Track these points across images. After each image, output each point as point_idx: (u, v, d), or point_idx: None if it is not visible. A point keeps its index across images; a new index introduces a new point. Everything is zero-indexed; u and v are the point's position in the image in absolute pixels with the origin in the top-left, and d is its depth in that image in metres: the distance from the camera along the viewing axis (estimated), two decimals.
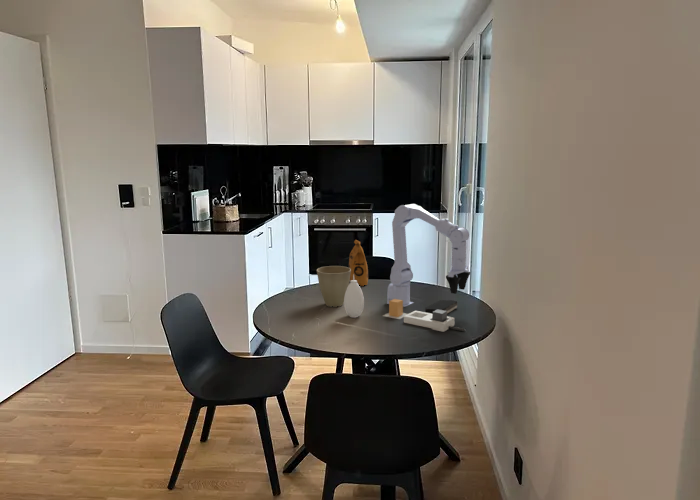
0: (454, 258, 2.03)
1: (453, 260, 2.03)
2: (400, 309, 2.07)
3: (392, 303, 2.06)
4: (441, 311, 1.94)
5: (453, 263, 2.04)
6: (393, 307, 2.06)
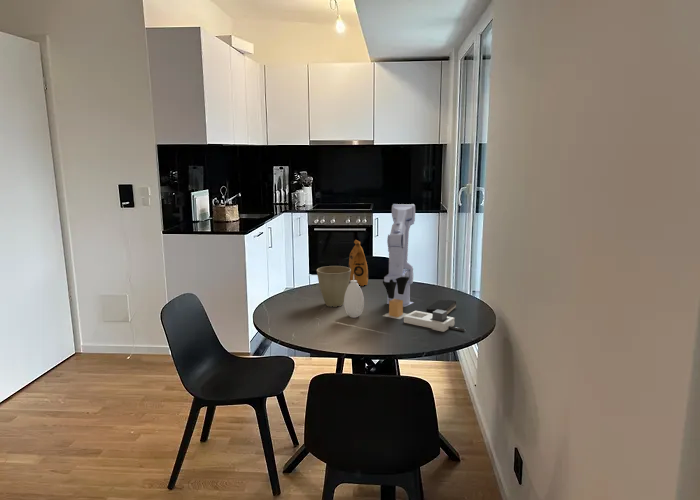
0: None
1: (390, 265, 2.03)
2: (400, 309, 2.07)
3: (392, 303, 2.06)
4: (441, 311, 1.94)
5: (390, 268, 2.04)
6: (393, 307, 2.06)
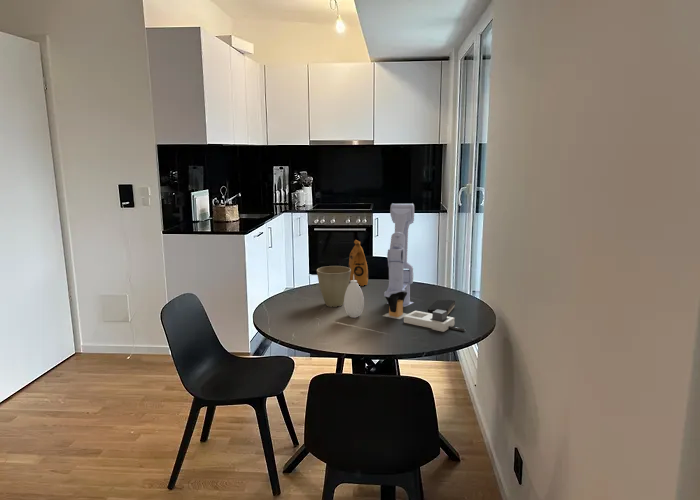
0: None
1: (390, 280, 2.04)
2: (400, 309, 2.07)
3: None
4: (441, 311, 1.94)
5: (390, 283, 2.05)
6: None
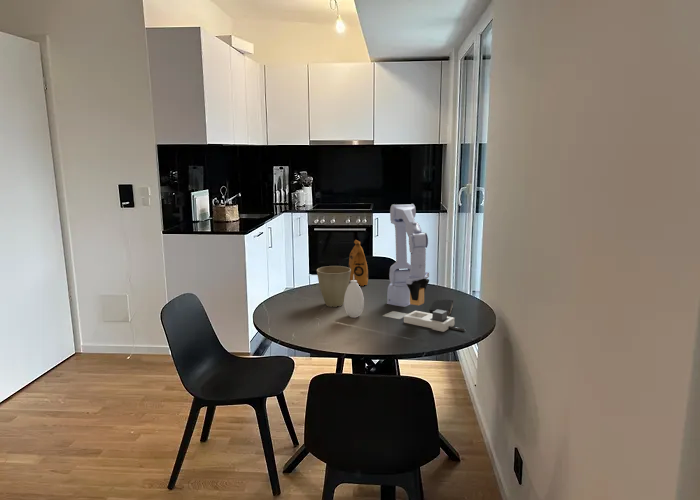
0: None
1: (412, 266, 1.95)
2: (421, 297, 1.98)
3: None
4: (441, 311, 1.94)
5: (412, 269, 1.95)
6: None
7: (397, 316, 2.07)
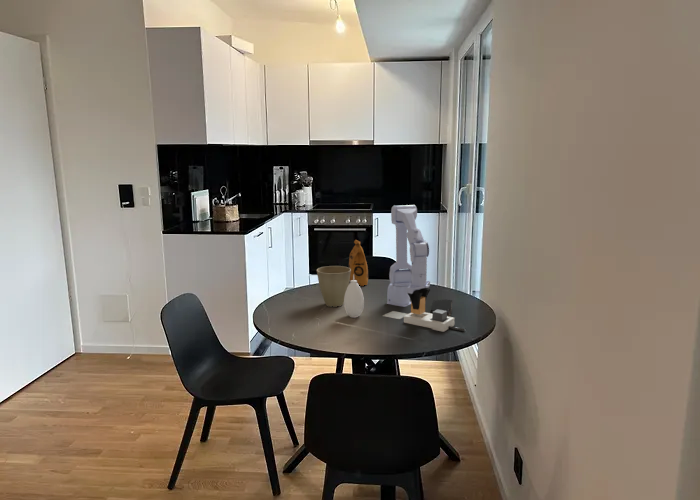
0: (411, 272, 1.97)
1: (413, 275, 1.96)
2: (422, 306, 1.98)
3: None
4: (441, 311, 1.94)
5: (413, 279, 1.96)
6: None
7: (397, 316, 2.07)
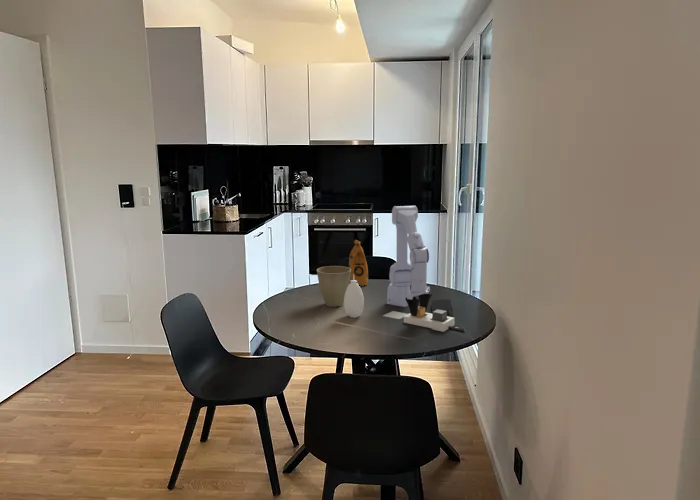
0: (411, 278, 1.97)
1: (413, 281, 1.96)
2: (422, 316, 1.99)
3: None
4: (441, 311, 1.94)
5: (413, 284, 1.96)
6: None
7: (397, 316, 2.07)
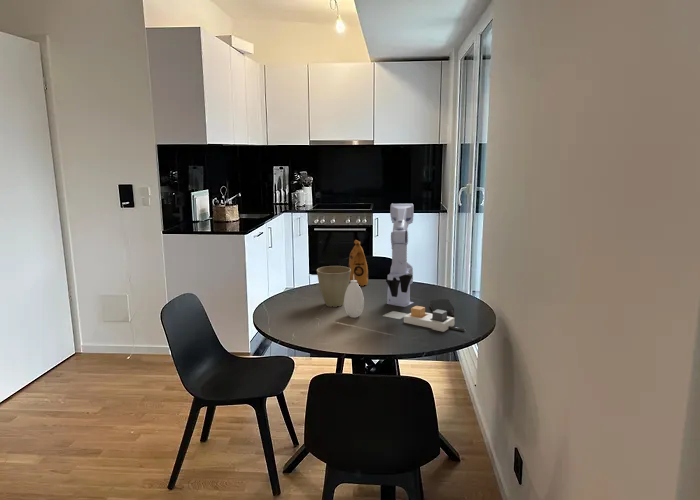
0: None
1: (393, 263, 1.99)
2: (422, 316, 1.99)
3: (414, 310, 1.98)
4: (441, 311, 1.94)
5: (393, 266, 1.99)
6: (415, 314, 1.98)
7: (397, 316, 2.07)
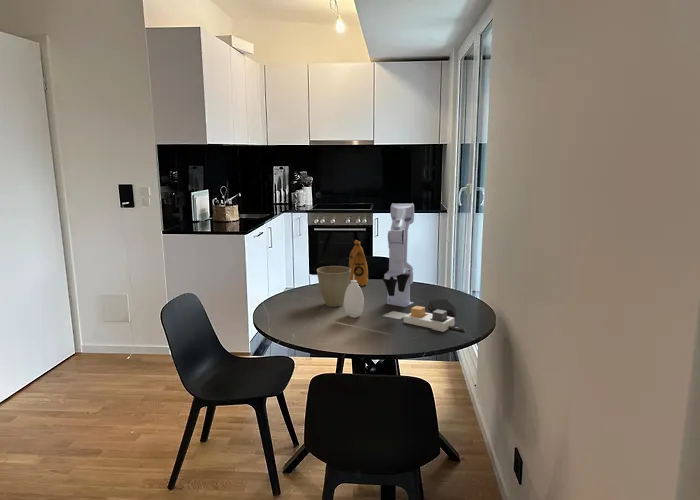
0: None
1: (390, 262, 2.00)
2: (422, 316, 1.99)
3: (414, 310, 1.98)
4: (441, 311, 1.94)
5: (390, 265, 2.00)
6: (415, 314, 1.98)
7: (397, 316, 2.07)
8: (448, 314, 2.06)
